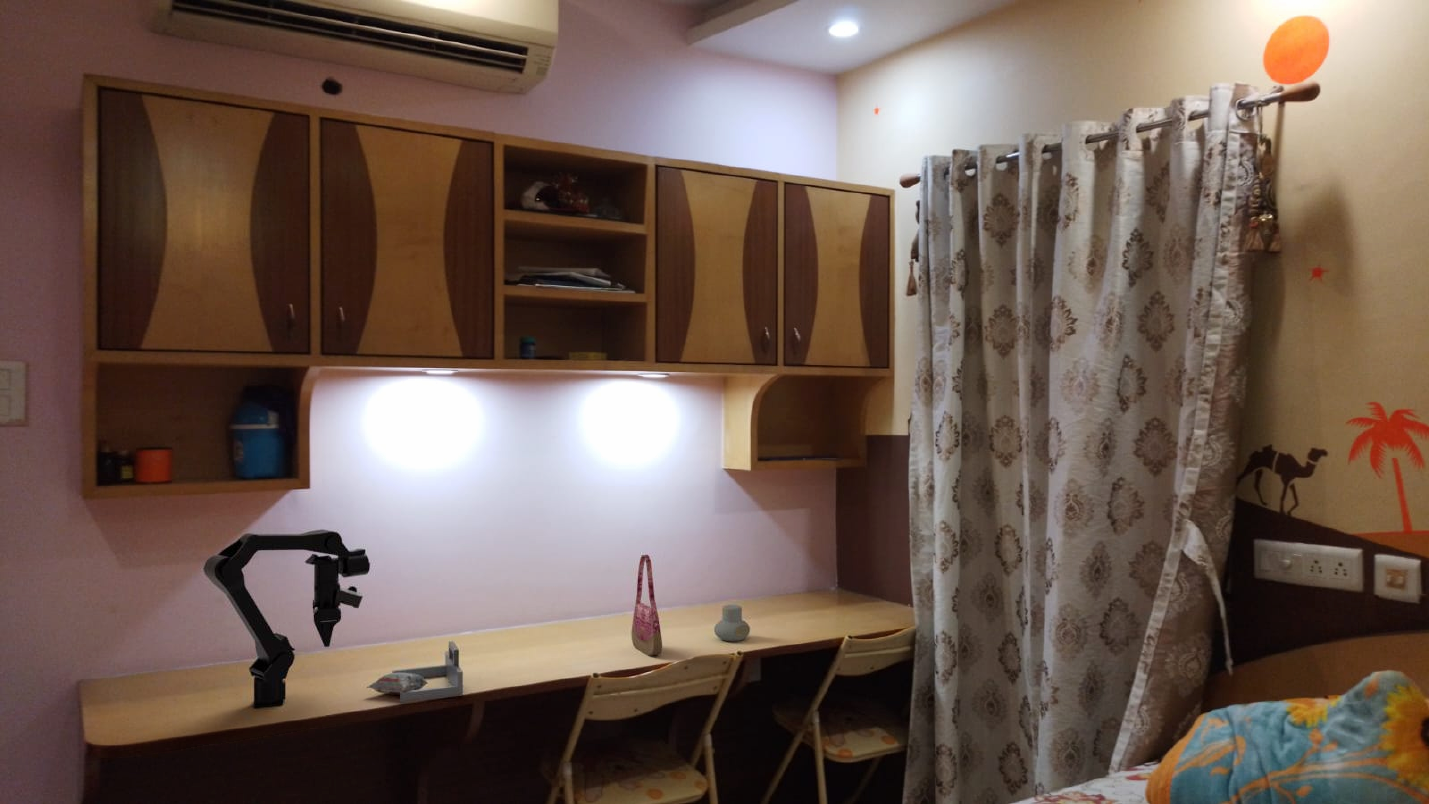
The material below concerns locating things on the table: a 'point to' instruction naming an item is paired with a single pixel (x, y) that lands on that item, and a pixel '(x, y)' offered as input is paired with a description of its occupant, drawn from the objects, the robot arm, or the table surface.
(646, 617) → the shoulder bag
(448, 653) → the grey u-shaped frame
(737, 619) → the air freshener
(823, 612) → the table surface
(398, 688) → the packaged food
